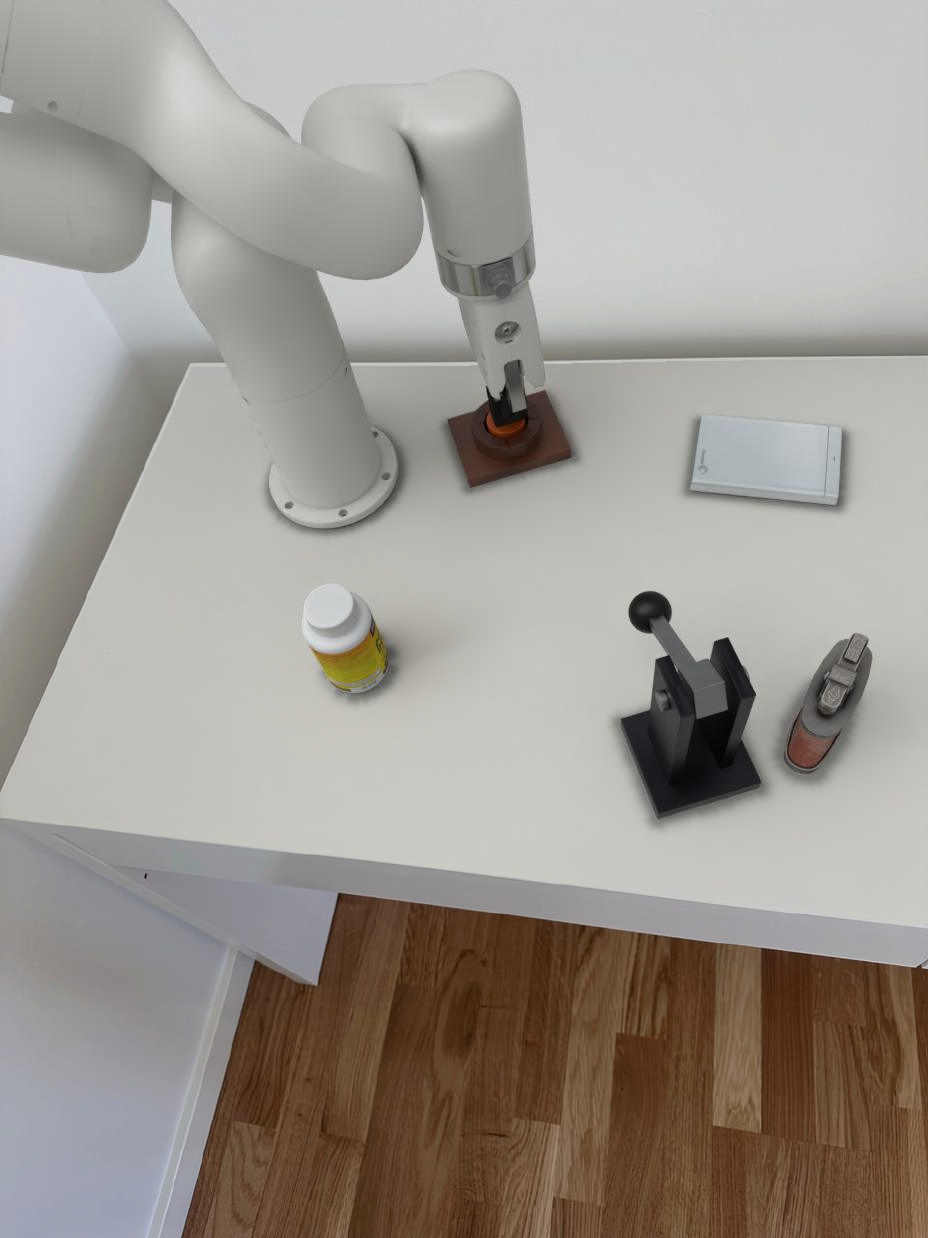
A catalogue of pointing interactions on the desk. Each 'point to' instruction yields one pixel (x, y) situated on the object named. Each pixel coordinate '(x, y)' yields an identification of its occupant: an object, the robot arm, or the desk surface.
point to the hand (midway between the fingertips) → (509, 416)
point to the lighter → (828, 704)
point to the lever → (680, 654)
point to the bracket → (693, 739)
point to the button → (505, 428)
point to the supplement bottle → (344, 638)
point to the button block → (508, 442)
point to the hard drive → (768, 459)
